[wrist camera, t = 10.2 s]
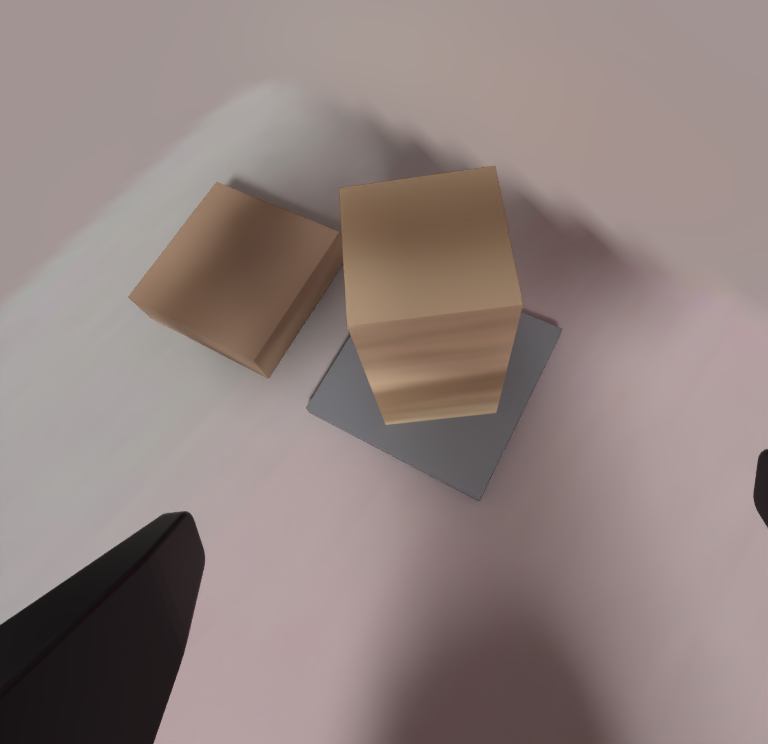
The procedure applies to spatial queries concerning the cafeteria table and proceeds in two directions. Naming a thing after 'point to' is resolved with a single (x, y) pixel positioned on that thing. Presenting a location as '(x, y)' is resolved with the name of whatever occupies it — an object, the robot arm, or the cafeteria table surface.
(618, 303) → the cafeteria table surface
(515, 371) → the charcoal pad
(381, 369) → the oak block
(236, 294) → the walnut ledge
